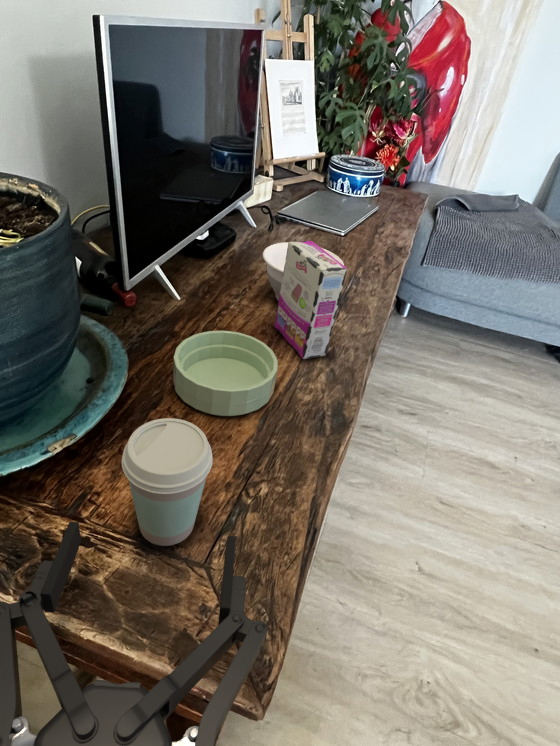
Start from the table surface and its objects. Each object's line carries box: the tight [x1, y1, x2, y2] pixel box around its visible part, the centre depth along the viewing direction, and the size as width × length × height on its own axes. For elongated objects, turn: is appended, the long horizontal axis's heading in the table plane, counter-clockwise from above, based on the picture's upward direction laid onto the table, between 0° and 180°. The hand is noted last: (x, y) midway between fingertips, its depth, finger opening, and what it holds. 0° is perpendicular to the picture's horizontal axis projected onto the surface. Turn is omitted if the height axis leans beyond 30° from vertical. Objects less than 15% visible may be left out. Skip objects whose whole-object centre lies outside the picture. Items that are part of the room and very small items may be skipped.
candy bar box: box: [274, 240, 348, 360], centre depth 82 cm, size 11×5×16 cm, turn 27°
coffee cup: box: [121, 417, 214, 547], centre depth 50 cm, size 8×9×12 cm
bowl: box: [262, 241, 345, 301], centre depth 98 cm, size 16×16×8 cm
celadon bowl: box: [172, 330, 279, 417], centre depth 73 cm, size 15×15×5 cm
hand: (154, 537), depth 44 cm, fingers open, 13 cm apart
